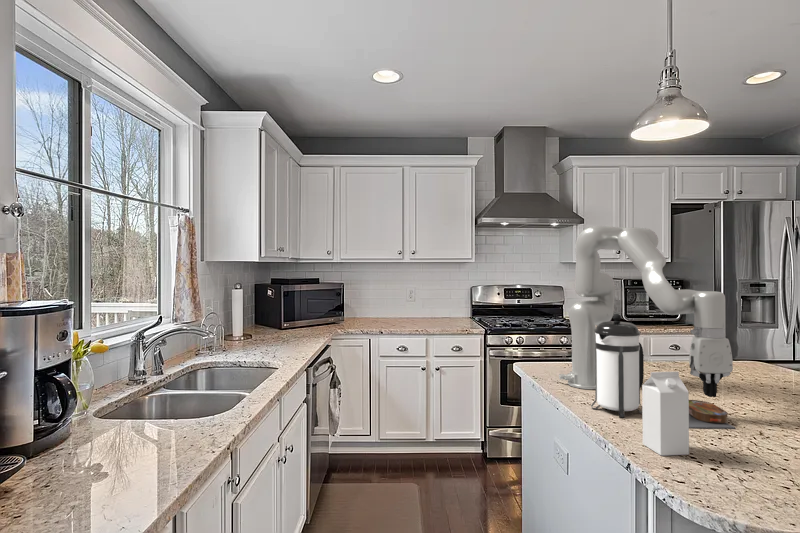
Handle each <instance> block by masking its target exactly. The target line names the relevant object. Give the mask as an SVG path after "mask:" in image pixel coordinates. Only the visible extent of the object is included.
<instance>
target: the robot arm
mask: <svg viewBox="0 0 800 533" xmlns="http://www.w3.org/2000/svg"><path fill="white" fill-rule="evenodd" d="M658 244H659V238H658V235H657V233H656V232H655V231H654V230H652V229H650V228H647V227H623V226H622V227H621V226H610V225H593V226H590V227H587V228H585V229H583V230H582V231H581V232H580V233H579V235H578V236H577V238H576V242H575V259H576V260H575V272H574V292H575V293H576V294H577V295H578V296H579V297H581V298H591V299H590V300H579V301H577V302H575V303H573V304H572V305H571V306H570V308H569V310H568V318H569V324H570V330H571V371H569V372H568V373H567V374H564V373H560V374H558V378H559V380H564V381H567V384H568V386H570V387H573V388H577V389H583V390H595V341H596V334H595V329H596V327H597V325H598V324H600V323H602V322H609V321H611V320H612V319H613V316H614V311H615V310H614V308H615V297H616V296H615V293H616V284H615V281H614V278H613V277H612V276H611V274H609V273H608V272H604V271H601V263H602V262H601V257H600V254H599V252H598V251H599V250H606V251H607V250H608V251H609V250H610V251H611V250H613V251H622V252H623V253H624V254H625V255H626V256H627V258H628V259H629V260H630V262H632V264H633V265H634V266H635V267H636V268H637V270H638V271H639V273H640V275H641V280H642V284H643V287H644V288H643V289H644V290H645V292H646V294H647V295H648V297H649V298H650V299H651V300H652V302H653V303H654V304H655V306H656V307H657V308H658V309H659V310H660V311H662V312H663V313H664V314H666V315H670V316H675V315H677V316H678V315H688V314H694V327H693V329H690V334H691V335H693V337H692V339H691V343H690V348H689V357H688V361H689V362H688V363H689V369H690V371H689V374H690V375H691V376H694V377H698V378H699V379H700V380H701V382H702V392H703V395H705V396H707V397H709V398H717V393H718V384H719V383H720V380H721V379H722V378H725V377H726V378H727V377H729V376H730V375H731V373H732V372H733V369H734V364H733V363H734V362H733V361H734V360H733V354H732V347H731V343H730V340H729V338H726V295H725V294H724V293H723V292H721V291H716V290H715V291H714V290H713V291H712V290H711V291H710V290H709V291H707V290H694V289H685V288H683V289H675V288H674V287H673V286H672V285H671V283H670V282H669V281H668V280H667V279H666V277H665V274H664V272H663V268H664V267H665V266H666V263H667V259H666V257H665V256H664V255H663V254H662V253H661V251H660V250H659V249H658V248H657V247H658Z"/></svg>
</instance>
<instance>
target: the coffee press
mask: <svg viewBox="0 0 800 533" xmlns="http://www.w3.org/2000/svg"><path fill="white" fill-rule="evenodd" d="M612 319H613V321H611V320H610V321H609V322H602V323H600V324H598V325H596V326H595V327H596V329H595V334H596V341H595V389H594V390H595V395H594V396H595V399H594V401H593V402H592V404H591V409H592V410H594V411H595V410H598V409H599V408H600V407H602V408H603V409H607V410H609V411H610V410H611V411H615V412H617V413H618V418H620V419H625V412H631V411H635V410H637V412H638V413H640V414H642V410H639V409H638V408H639V406H640V407H641V408H642V404H641V388H642V385H643V384H644V378H645V377H644V368H645V365H644V364H645V363H644V359H645V358H644V349H643V346H642V344H641V342H640V336H641V331H640V330H639V328H638V327H637V325H636V324H634V323H632V322H626V321H620V320H621V319H622V317H621V315H620V314H619V313H614V314H613V316H612ZM596 403H597V406H596V407H593V406H594V405H595V404H596Z"/></svg>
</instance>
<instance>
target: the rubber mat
mask: <svg viewBox="0 0 800 533" xmlns="http://www.w3.org/2000/svg"><path fill="white" fill-rule="evenodd" d="M689 429H703V430H704V429H706V430H708V429H709V430H710V429H712V430H714V429H717V430H718V429H719V430H723V429H724V430H736V427H735V426H734V425H731V424H729V423H728V422H726V423H709V422H703V421H700V420H697V419H695V418H694V417H693V416H691V415H690V414H689Z"/></svg>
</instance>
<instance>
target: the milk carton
mask: <svg viewBox="0 0 800 533" xmlns="http://www.w3.org/2000/svg"><path fill="white" fill-rule="evenodd" d="M679 373H680V371H654V372H653V371H652V372H651V371H650V376H649V378H648V379H647V380H645V382H643V383H642V386H641V388H642V393H641V394H642V398H641V401H642V404H641V406H642V407H641V408H642V409H641V411H642V413H641V414H642V415H641V416H642V445H644V446H645V447H646V448H648V449H650V450H652V451H653V452H655V453H656V454H658V455H659V456H663V457H664V456H682V455H683V456H685V455H687V456H688V455H689V454H690V432H689V430H690V428H689V400H690V398H689V397H690V396H689V395H690V394H689V390H688V389H687V387H686V385H685V384H684V382H683V380H682V379H681V378H680V374H679Z"/></svg>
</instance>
